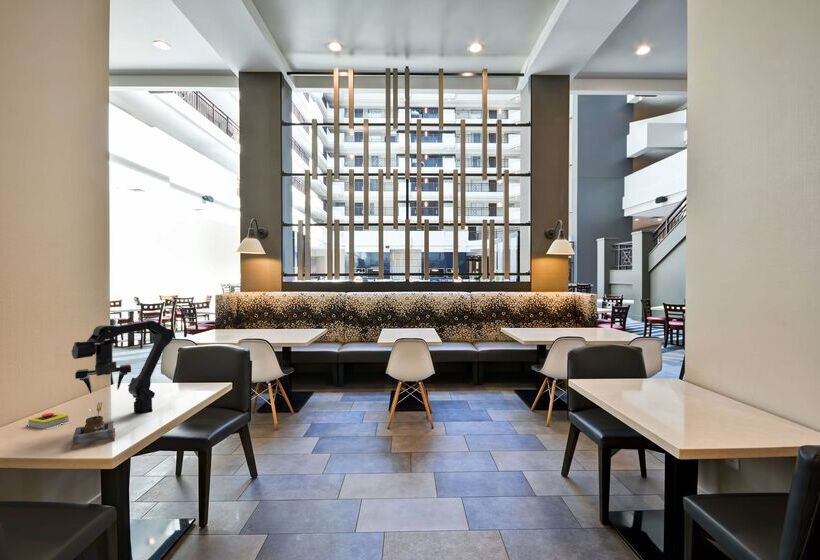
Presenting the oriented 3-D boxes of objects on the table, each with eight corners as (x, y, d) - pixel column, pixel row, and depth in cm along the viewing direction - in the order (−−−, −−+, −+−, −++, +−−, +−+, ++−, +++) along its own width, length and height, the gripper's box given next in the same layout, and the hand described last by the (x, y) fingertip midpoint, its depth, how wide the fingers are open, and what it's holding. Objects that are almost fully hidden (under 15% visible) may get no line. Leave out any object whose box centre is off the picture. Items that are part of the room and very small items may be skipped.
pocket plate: (115, 430, 158) (114, 420, 158) (114, 440, 148) (114, 429, 148) (74, 438, 151) (74, 427, 151) (71, 449, 141) (71, 437, 141)
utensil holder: (80, 440, 147) (79, 407, 147) (92, 433, 153) (92, 402, 153) (97, 439, 147) (96, 407, 147) (108, 432, 153) (108, 401, 153)
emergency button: (50, 409, 175) (73, 412, 170) (50, 419, 175) (73, 422, 170) (24, 416, 166) (47, 420, 161) (24, 426, 166) (47, 430, 161)
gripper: (73, 360, 158) (74, 399, 157) (130, 354, 168) (131, 391, 168) (76, 356, 167) (76, 393, 167) (130, 351, 177) (131, 386, 177)
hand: (104, 391), depth 169 cm, fingers open, 9 cm apart
